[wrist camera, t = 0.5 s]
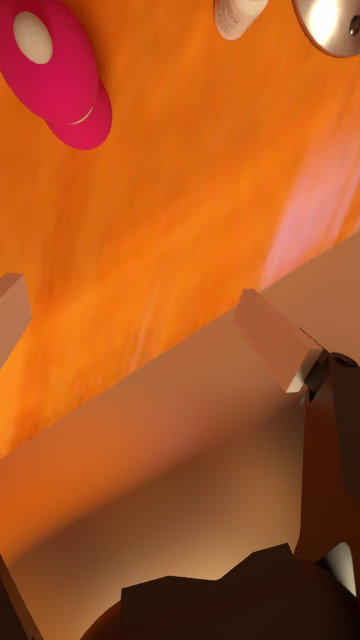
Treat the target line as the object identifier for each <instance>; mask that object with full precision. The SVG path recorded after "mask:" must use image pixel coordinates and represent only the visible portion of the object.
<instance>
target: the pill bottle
mask: <svg viewBox="0 0 360 640" xmlns="http://www.w3.org/2000/svg"><path fill="white" fill-rule="evenodd" d="M268 1H269V0H215V4H214V19H215V24H216V27H217V29H218V31H219V33H220V34H221V36H222V37H223V38H225V39H227V40H235V39H237V38H239V37H240V36H241V35H242V34H243V33H244V32H245V31H246V30H247V28H248V27H249V26H250V25H251V24H252V22H253V21H254V20H255V19H256V18H257V17H258V15H259V14H260V13H261V12H262V11H263V9H264V8H265V6H266V5H267V3H268Z"/></svg>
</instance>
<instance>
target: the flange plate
mask: <svg viewBox="0 0 360 640" xmlns="http://www.w3.org/2000/svg"><path fill="white" fill-rule="evenodd" d="M292 3H293V7H294V11H295V14H296V17H297V19H298V22H299V24H300V26H301V28H302V30H303V32H304V33H305V35H306V37H307V38H308V39H309V41H310V42H311V43H312V44H313V45H314V46H315V47H316V48H317V49H318V50H319V51H321V52H323V53H324V54H326V55H328V56H332V57H335V58H348V57H354V56H357V55H359V54H360V0H292Z"/></svg>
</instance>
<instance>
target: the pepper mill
mask: <svg viewBox="0 0 360 640" xmlns="http://www.w3.org/2000/svg"><path fill="white" fill-rule="evenodd" d="M0 71H1V73H2V75H3V77H4V79H5V81H6V83H7V84H8V86H9V87H10V88H11V90H12V91H13V92H14V94H15V95H16V96H17V98H18V99H19V100H20V101H21V102H22V103H23V104H24V105H25V106H26V107H27V108H28V109H29V110H30V111H31V112H33V113H34V114H36V115H37V116H39V117H41V118H43V119H44V120H45V122H46V123H47V125H48V126H49V128H50V129H51V130H52V132H53V133H54V134H55V135H56V136H57V137H58V138H59V139H60V140H61V141H62V142H64V143H65V144H67V145H68V146H71V147H73V148H76V149H79V150H90V149H94V148H96V147H98V146H100V145H101V144H102V143H103V142H104V141H105V140H106V138H107V136H108V134H109V132H110V129H111V124H112V108H111V103H110V99H109V96H108V94H107V91H106V89H105V87H104V85H103V83H102V81H101V80H100V78H99V77H98V70H97V63H96V58H95V55H94V52H93V48H92V46H91V43H90V41H89V39H88V36H87V34H86V32H85V31H84V29H83V27H82V25H81V23H80V22H79V20H78V19H77V17H76V16H75V14H74V13H73V12H72V11H71V10H70V9H69V7H68V6H67V5H66V4H65V3H64V2H63V1H62V0H0Z"/></svg>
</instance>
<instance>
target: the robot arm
mask: <svg viewBox="0 0 360 640" xmlns="http://www.w3.org/2000/svg"><path fill="white" fill-rule="evenodd" d="M31 319H32V315H31V310H30V305H29V299H28V294H27V289H26V283H25V278H24V274H16V273H6V274H5V275H4V276H3V277H2V278H1V279H0V370H1V368H2V367H3V365H4V364H5V362H6V360H7V359H8V357H9V355H10V354H11V352H12V350H13V349H14V347H15V346H16V344H17V342H18V341H19V339H20V337H21V336H22V334H23V332H24V331H25V329H26V328H27V326H28V324H29V323H30V321H31ZM233 324H234V325H235V326H236V328H237V329H238V330H239V332H240V333H241V334H242V335H243V337H244V338H245V339H246V341H247V342H248V343H249V345H250V346H251V347H252V349H253V350H254V351H255V353H256V354H257V355H258V356H259V357H260V359H261V360H262V362H263V363H264V364H265V366H266V367H267V368H268V370H269V371H270V372H271V373H272V375H273V376H274V377H275V379H276V380H277V381H278V383H279V384H280V385H281V387H282V388H283V389H284V390H285V392H298V391H299V390H300V388H301V387H302V385H303V383H305V384H306V385H307V386H308V387H309V388H308V389H307V391H306V393H305V394H304V396H303V398H302V399H301V401H300V403H299V404H300V405H302V403H303V402H305V418H304V443H303V471H302V498H301V526H300V536H299V540H298V542H297V545H296V548H295V550H294V554H293V553H292V551H291V549H290V547H289V545H288V543H285V544H281V545H278V546H274V547H270V548H267V549H263V550H259V551H256V552H253V553H251V554H250V555H249V556H248V557H247V558H245V559H244V560H243V561H242V562H240V563H239V564H238V565H237V566H235V567H234V568H233V569H232V570H230V571H229V572H228V573H227V574H225V575H224V576H223V577H222V578H220V579H219V580H204V579H195V578H186V577H177V576H166V577H162V578H159V579H155V580H151V581H148V582H144V583H141V584H137V585H133V586H130V587H127V588H123V589H122V591H121V600H120V601H118V602H117V603H116V604H114V605H113V606H112V607H110V608H109V609H108V610H106V611H105V612H104V613H103V614H102V615H101V616H100V617H99V618H98V619H97V620H96V621H95V622H94V623H93V624H92V625H91V627H90V628H89V629H88V630H87V631H86V632H85V633H84V635H83V636H82V638H81V639H80V640H360V367H359V365H358V364H357V363H356V362H355V361H354V360H353V359H351V358H349V357H348V356H345V355H343V354H340V353H335V352H332V353H329V352H328V351H327V350H325V349H324V348H323V347H322V346H321V345H319V344H318V343H317V342H316V341H315V340H313V339H312V338H311V337H310V336H309V335H307V333H305V332H304V331H303V330H302V329H301V328H299V327H297V326H296V325H295V324H294V323H293V322H291V321H290V320H289V319H288V318H287V317H285V316H284V315H283V314H282V313H281V312H280V311H278V310H277V309H276V308H275V307H274V306H273V305H271V304H270V303H269V302H268V301H267V300H266V299H264V298H263V297H262V296H260V294H259V293H257V292H256V291H255V290H254V289H243V292H242V295H241V298H240V301H239V305H238V308H237V311H236V314H235V317H234V320H233ZM0 640H44V639H43V637H42V635H41V633H40V631H39V630H38V628H37V626H36V624H35V622H34V620H33V618H32V617H31V615H30V613H29V611H28V609H27V607H26V605H25V603H24V601H23V599H22V597H21V595H20V593H19V591H18V589H17V587H16V585H15V583H14V581H13V579H12V577H11V575H10V573H9V571H8V569H7V567H6V565H5V563H4V560H3V559H2V556H1V554H0Z"/></svg>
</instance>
